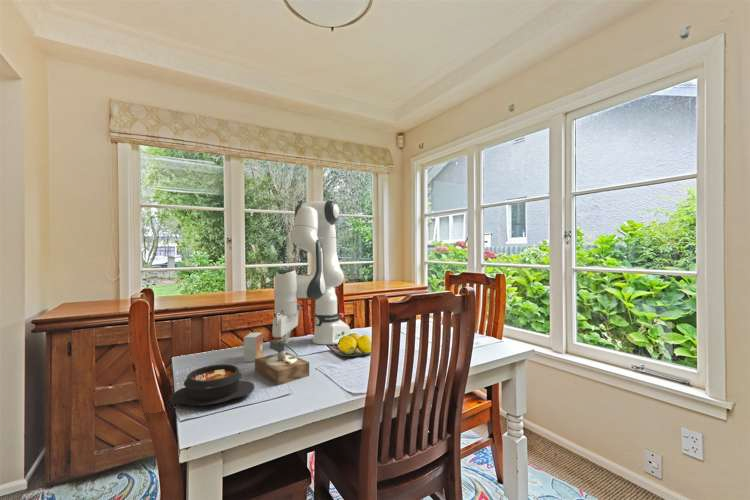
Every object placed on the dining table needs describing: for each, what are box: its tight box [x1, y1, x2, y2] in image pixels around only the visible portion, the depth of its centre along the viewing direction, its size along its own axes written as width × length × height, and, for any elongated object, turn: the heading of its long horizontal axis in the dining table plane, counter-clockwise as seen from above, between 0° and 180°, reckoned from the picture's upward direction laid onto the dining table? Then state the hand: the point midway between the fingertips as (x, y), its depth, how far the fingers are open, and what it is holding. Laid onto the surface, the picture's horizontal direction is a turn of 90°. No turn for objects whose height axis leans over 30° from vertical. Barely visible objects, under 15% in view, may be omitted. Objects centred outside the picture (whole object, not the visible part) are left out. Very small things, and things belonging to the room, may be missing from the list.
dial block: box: [254, 351, 310, 386], centre depth 132 cm, size 13×18×5 cm
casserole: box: [168, 364, 255, 407], centre depth 112 cm, size 25×19×8 cm
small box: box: [243, 332, 264, 362], centre depth 149 cm, size 8×6×10 cm
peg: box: [269, 339, 291, 363], centre depth 132 cm, size 13×4×7 cm, turn 45°
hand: (285, 342), depth 139 cm, fingers closed
